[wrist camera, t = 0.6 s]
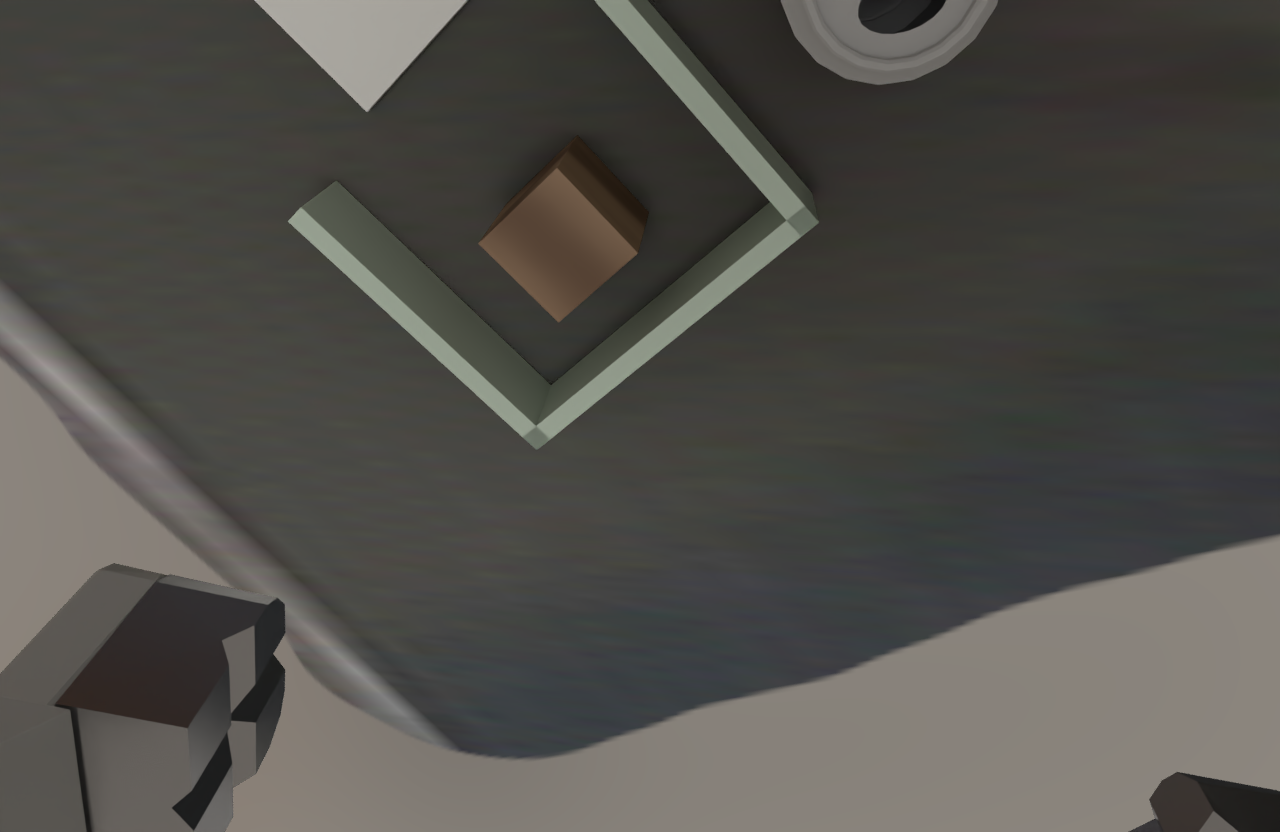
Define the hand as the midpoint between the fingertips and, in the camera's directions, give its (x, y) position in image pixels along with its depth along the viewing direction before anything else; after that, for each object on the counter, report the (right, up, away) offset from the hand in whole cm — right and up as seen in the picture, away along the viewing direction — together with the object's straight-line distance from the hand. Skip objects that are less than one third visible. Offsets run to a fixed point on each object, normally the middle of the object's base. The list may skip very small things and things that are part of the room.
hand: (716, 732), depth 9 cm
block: (-4, +13, +39) cm, 41 cm away
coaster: (-13, +22, +35) cm, 43 cm away
